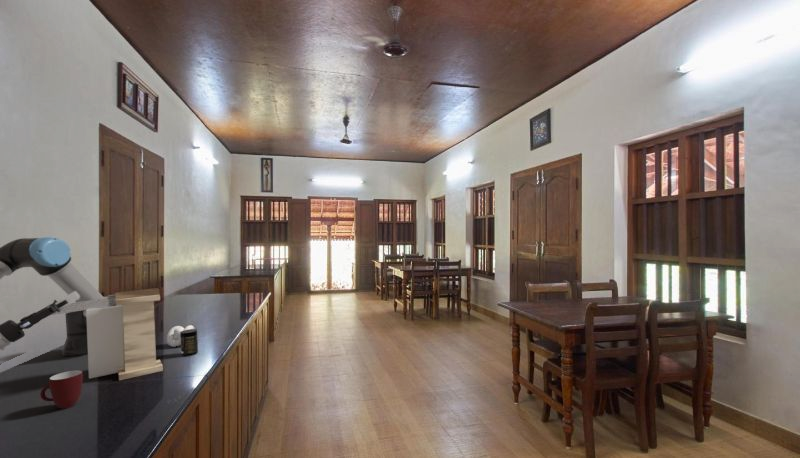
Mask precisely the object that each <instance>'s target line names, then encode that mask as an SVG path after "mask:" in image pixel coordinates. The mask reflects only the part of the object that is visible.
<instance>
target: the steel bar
mask: <svg viewBox="0 0 800 458" xmlns="http://www.w3.org/2000/svg"><path fill="white" fill-rule="evenodd" d="M107 297H108V298H104V299H97V300H90V301H83V302H72V303H70V304H69V305H67V306H65V307H63V308H61V309H60V312H57V311H56V312H55V313H53V314H51V315H49V316H55V315H61V314H66V313H69V312H75V311H82V310H88V309H94V308H101V307H107V306H114V305H116V302H115V294H109V295H107ZM48 306H49V305H48ZM46 307H47V306H46ZM49 307H50V306H49ZM47 308H48V307H47ZM49 316H48V317H49Z"/></svg>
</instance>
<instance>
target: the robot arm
mask: <svg viewBox="0 0 800 458" xmlns="http://www.w3.org/2000/svg"><path fill="white" fill-rule="evenodd" d="M71 255H72V254H71V248H70V247H69V244H68V243H66V241H64V240H63V239H60V238H57V237H50V236H45V237H35V238H34V237H29V238H17V239H14V240H12V241H9V242H8V243H6V244H3V245H2V246H0V280H2V279H3V278H5V276H11V275H12V274H13V273H14V272H17V270H20V269H23V268H33V270H34V271H36V272H37V274H39V275H40V276H42V277H48V278H49V279H51V280H52V281H53V282H54V283H55V284H56V285H57V286H58V287H59V288H60V289H62V291H63V292H64V293H66V294H67V295H65V296H64V297H61V298H60V299H58V300H56V299H54V300H53V302H52V303H50V304H49V305H47V306H45V307H43V308H42V309H39V310H38V311H36V312H33V313H30V314H29V315H27V316H24V317H22V318H21V319H20V320H19V322H18V323H16V321H14V320H12V319H9V320H7V321H5V322H3V323H1V324H0V350H1V351H4V350H6V347H7V346H10V345H11V343H15V342H17V341H19V340H20V339H22V338H25V334H26V333H25V331H24V330H26V329H27V330H28V329H30V328H31V327H33V326H34V325H36V324H37V323H38V324H39V322H41V321H42V320H44V319H45V318H46V319H47V318H48V317H49V315H50V316H52V315H51V314H53V313H55V312H56V311H57V312H60V309H61V308H63V307H65V306H67V305H69V304H70V303H76V302H83V301H90V300H97V299H104V298H108V296H103V295H102V294H101V293H100V292H99V290H98V289H96V287H95V286H94V285H92V283H90V281H89V280H88V279H87V278H86V277H85V276H84V275H83V274H82V272H80V271H79V270H78V269H77V268H76V267H75V266H74V265H73V264H72V263H71V262H72V256H71ZM49 306H50V307H49ZM47 307H48V308H47ZM64 315H65V328H66V338H65V341H64V344H63V347H62V350H61V353H62V356H64V357H73V356H80V355H81V356H82V355H86V354H87V355H88V343H87V318H86V310H82V311H75V312H69V313H64ZM122 323H123V316H122Z"/></svg>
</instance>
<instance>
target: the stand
mask: <svg viewBox="0 0 800 458" xmlns="http://www.w3.org/2000/svg"><path fill="white" fill-rule="evenodd" d="M159 301H161V295H160V289H159V287H158V288H157V287H156V288H148V289H138V290H129V291H127V290H126V291H120V292H115V302H116V306H118V305H122V316H123V349H124V367H121V368H118V373H117V375H118V381H122V380H128V379H131V378H135V377H136V378H137V377H141V376H145V375H150V374H154V373H158V372H163V371H164V365H163V363H162V361H161V359H157V351H156V323H155V302H159Z"/></svg>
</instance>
